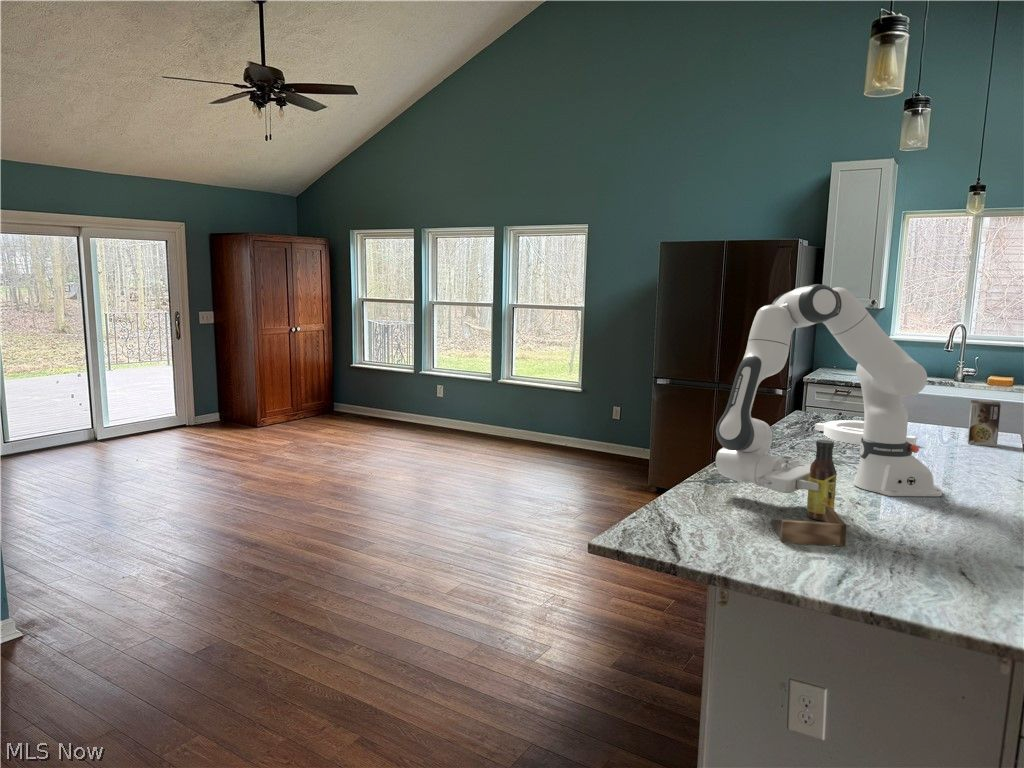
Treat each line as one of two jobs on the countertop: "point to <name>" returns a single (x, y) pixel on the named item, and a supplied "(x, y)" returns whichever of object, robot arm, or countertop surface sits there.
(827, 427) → the ring with crossbar
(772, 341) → the robot arm
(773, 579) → the countertop surface
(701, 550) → the countertop surface
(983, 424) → the food box
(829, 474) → the sauce bottle
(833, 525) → the corner arena
